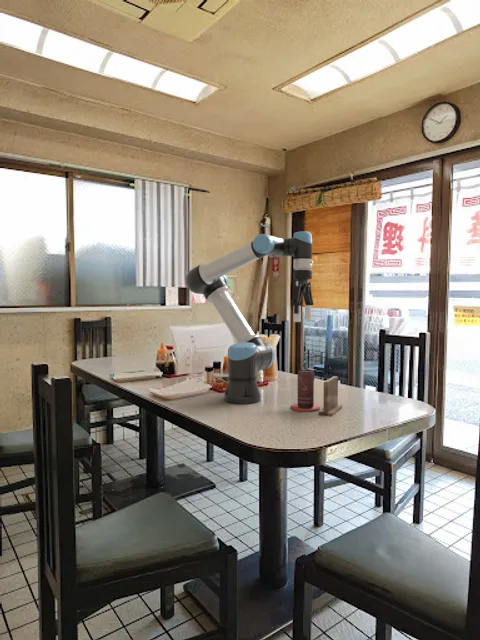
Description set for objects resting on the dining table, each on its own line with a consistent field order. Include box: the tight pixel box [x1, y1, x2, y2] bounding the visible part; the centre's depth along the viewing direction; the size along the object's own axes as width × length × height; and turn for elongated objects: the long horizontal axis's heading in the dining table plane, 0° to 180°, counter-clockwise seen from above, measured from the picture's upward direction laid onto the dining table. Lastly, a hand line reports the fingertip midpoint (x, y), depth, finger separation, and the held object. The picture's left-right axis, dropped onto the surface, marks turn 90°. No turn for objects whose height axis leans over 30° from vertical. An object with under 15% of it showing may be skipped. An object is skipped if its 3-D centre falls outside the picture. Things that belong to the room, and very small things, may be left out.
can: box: [297, 369, 315, 409], centre depth 170 cm, size 6×6×14 cm
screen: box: [318, 375, 343, 417], centre depth 166 cm, size 5×14×12 cm, turn 153°
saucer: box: [290, 403, 321, 413], centre depth 171 cm, size 11×11×1 cm
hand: (302, 321), depth 185 cm, fingers open, 13 cm apart
